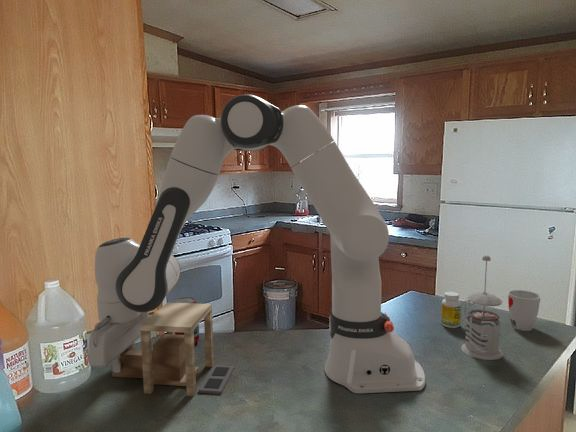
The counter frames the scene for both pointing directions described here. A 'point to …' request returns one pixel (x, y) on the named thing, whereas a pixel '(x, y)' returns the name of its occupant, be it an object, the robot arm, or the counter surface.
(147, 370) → the small wooden table
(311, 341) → the counter surface
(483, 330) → the french press
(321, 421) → the counter surface
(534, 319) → the cup
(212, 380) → the pit board
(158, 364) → the wooden step block
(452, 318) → the supplement bottle
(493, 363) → the counter surface
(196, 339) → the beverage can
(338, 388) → the counter surface
